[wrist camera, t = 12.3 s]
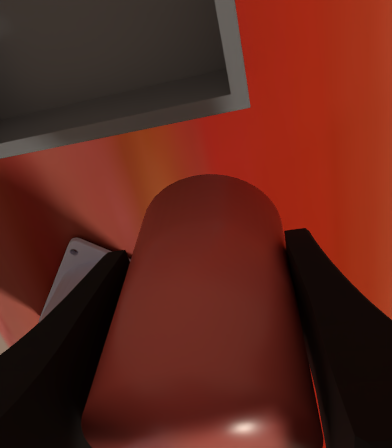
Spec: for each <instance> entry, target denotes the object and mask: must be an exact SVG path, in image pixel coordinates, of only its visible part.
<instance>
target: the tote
mask: <svg viewBox="0 0 392 448" xmlns="http://www.w3.org/2000/svg"><path fill="white" fill-rule="evenodd" d="M245 108H250V101H249V94H248V87H247V80H246V73H245V66H244V60H243V53H242V46H241V40H240V33H239V26H238V20H237V13H236V6H235V0H0V159H1V158H6V157H10V156H15V155H20V154H25V153H30V152H35V151H40V150H45V149H50V148H54V147H59V146H64V145H69V144H74V143H79V142H84V141H89V140H94V139H99V138H103V137H108V136H113V135H118V134H123V133H128V132H133V131H138V130H143V129H147V128H152V127H157V126H162V125H167V124H172V123H177V122H182V121H187V120H191V119H196V118H201V117H206V116H211V115H216V114H221V113H226V112H231V111H236V110H240V109H245Z"/></svg>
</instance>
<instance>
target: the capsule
mask: <svg viewBox="0 0 392 448" xmlns="http://www.w3.org/2000/svg"><path fill="white" fill-rule="evenodd" d="M81 427H82V432H83V434H84V437H85V439H86V440H87V442H88V443H89V445H90V446H91V447H92V448H322V447H323V434H322V429H321V424H320V419H319V413H318V408H317V403H316V398H315V393H314V388H313V382H312V377H311V372H310V367H309V362H308V357H307V351H306V346H305V341H304V336H303V331H302V326H301V320H300V315H299V310H298V305H297V300H296V295H295V290H294V285H293V280H292V276H291V272H290V267H289V262H288V256H287V251H286V243H285V238H284V233H283V228H282V223H281V218H280V215H279V213H278V211H277V209H276V207H275V205H274V204H273V203H272V201H271V200H270V199H269V198H268V197H267V196H266V195H265V194H264V193H263V192H262V191H260V190H259V189H258V188H256V187H255V186H253V185H251V184H249V183H247V182H245V181H243V180H240V179H237V178H234V177H230V176H224V175H212V174H206V175H197V176H192V177H188V178H185V179H182V180H179V181H177V182H175V183H173V184H171V185H169V186H168V187H166V188H165V189H163V190H162V191H161V192H160V193H159V194H158V195H157V196H156V197H155V198H154V199H153V200H152V202H151V203H150V205H149V207H148V208H147V211H146V213H145V216H144V219H143V222H142V226H141V229H140V232H139V235H138V238H137V242H136V245H135V248H134V251H133V254H132V258H131V261H130V264H129V267H128V270H127V274H126V277H125V280H124V283H123V286H122V290H121V293H120V296H119V299H118V303H117V306H116V309H115V312H114V315H113V319H112V322H111V325H110V328H109V331H108V335H107V338H106V341H105V344H104V347H103V351H102V354H101V357H100V360H99V363H98V367H97V370H96V373H95V376H94V379H93V383H92V386H91V389H90V392H89V395H88V399H87V402H86V405H85V408H84V411H83V415H82V419H81Z"/></svg>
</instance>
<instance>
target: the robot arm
mask: <svg viewBox="0 0 392 448" xmlns="http://www.w3.org/2000/svg"><path fill="white" fill-rule="evenodd" d="M284 232H285V242H286V251H287V256H288V262H289V267H290V272H291V276H292V280H293V285H294V290H295V295H296V300H297V305H298V310H299V315H300V320H301V326H302V331H303V336H304V341H305V346H306V351H307V357H308V362H309V365H310V369H311V373H312V376H313V380H314V385H315V389H316V394H317V399H318V405H319V410H320V416H321V421H322V427H323V432H324V438H325V443H326V448H392V320H391V319H390V318H389V317H388V316H386V315H385V314H384V313H383V312H382V311H380V310H379V309H378V308H377V307H376V306H375V305H373V304H372V303H371V302H370V301H369V300H368V299H367V298H366V297H365V296H364V295H363V294H362V293H361V292H360V291H359V290H358V289H357V288H356V287H355V286H354V285H353V284H352V283H351V282H350V281H349V280H348V279H347V278H346V277H345V276H344V275H343V274H342V273H341V272H340V271H339V269H338V268H337V267H336V266H335V265H334V264H333V263H332V262H331V260H330V259H329V258H328V257H327V255H326V254H325V253H324V252H323V250H322V249H321V248H320V246H319V245H318V244H317V242H316V241H315V240H314V238H313V236H312V235H311V233H310V232H309V231H308V230H307V229H306V228H303V229H295V230H287V231H284ZM73 249H75V250H77V252H76V251H74V250H73ZM130 261H131V259H129V258H128V256H127V253H126V251H125V250H122V251H114V252H112V251H109V250H107V249H105V248H102V247H100V246H97V245H95V244H93V243H90V242H88V241H85V240H83V239H81V238H77V237H76V238H72V239H71V240H70V242H69V244H68V247H67V249H66V252H65V254H64V257H63V259H62V262H61V265H60V267H59V270H58V272H57V275H56V277H55V280H54V283H53V285H52V288H51V290H50V293H49V295H48V298H47V301H46V303H45V306H44V308H43V311H42V313H41V316H40V319H39V323H38V324H37V325H36V326H35V327H34V328H33V329H31V330H30V331H29V332H28V333H27V334H26V335H25V336H23V337H22V338H21V339H20V340H19V341H17V342H16V343H15V344H14V345H13V346H11V347H10V348H9V349H8V350H6V351H5V352H3V353H2V354H1V355H0V448H92V447H91V446H90V445H89V443H88V442H87V440H86V439H85V437H84V434H83V432H82V427H81V419H82V415H83V411H84V408H85V405H86V402H87V399H88V395H89V392H90V389H91V386H92V383H93V379H94V376H95V373H96V370H97V367H98V363H99V360H100V357H101V354H102V351H103V347H104V344H105V341H106V338H107V335H108V331H109V328H110V325H111V322H112V319H113V315H114V312H115V309H116V306H117V303H118V299H119V296H120V293H121V290H122V286H123V283H124V280H125V277H126V274H127V270H128V267H129V264H130Z"/></svg>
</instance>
